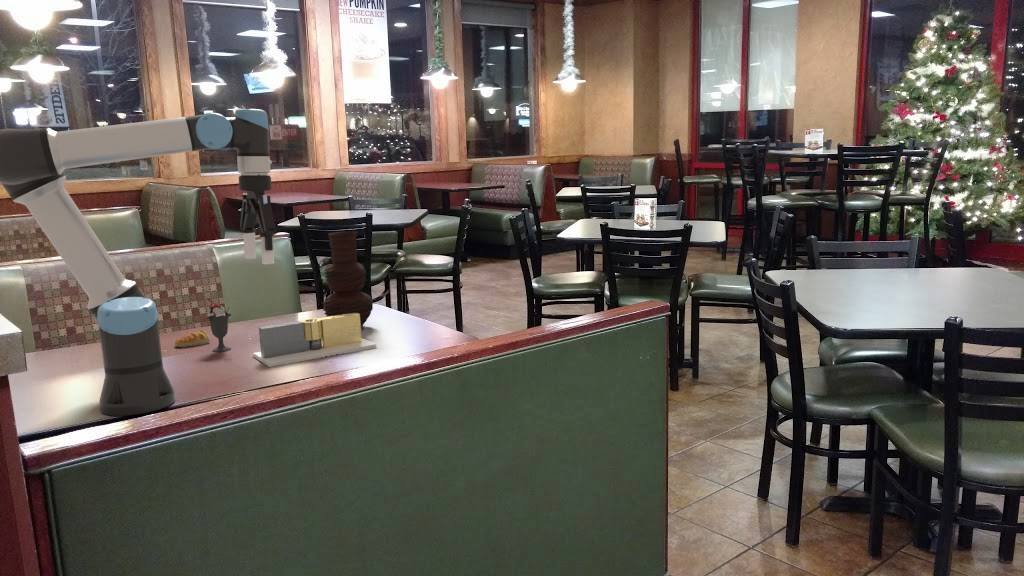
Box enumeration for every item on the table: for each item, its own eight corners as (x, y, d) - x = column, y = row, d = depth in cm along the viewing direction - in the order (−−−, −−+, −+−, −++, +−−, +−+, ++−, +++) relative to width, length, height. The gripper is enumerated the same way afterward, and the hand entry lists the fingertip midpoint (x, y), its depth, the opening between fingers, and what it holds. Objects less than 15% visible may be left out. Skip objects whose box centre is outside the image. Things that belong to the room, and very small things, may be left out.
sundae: (203, 351, 223) (198, 299, 220) (222, 346, 229) (217, 295, 226) (220, 353, 220) (215, 300, 217) (239, 348, 226) (233, 296, 223)
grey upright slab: (265, 358, 208) (262, 329, 207) (261, 356, 211) (258, 327, 210) (323, 348, 217) (321, 320, 216) (319, 346, 220) (317, 318, 219)
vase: (322, 326, 251) (315, 232, 246) (371, 321, 256) (364, 229, 251) (326, 336, 237) (318, 236, 232) (377, 331, 241) (371, 233, 236)
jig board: (269, 366, 204) (268, 363, 204) (253, 356, 215) (253, 352, 215) (376, 347, 220) (376, 344, 220) (356, 338, 232) (356, 335, 232)
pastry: (182, 350, 227) (180, 337, 226) (170, 347, 231) (169, 334, 231) (212, 343, 234) (211, 330, 233) (200, 340, 238) (199, 328, 238)
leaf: (307, 352, 214) (305, 323, 212) (301, 348, 218) (298, 320, 217) (363, 342, 223) (361, 314, 221) (356, 339, 227) (354, 312, 226)
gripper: (287, 174, 184) (292, 265, 187) (253, 173, 204) (258, 255, 207) (255, 175, 180) (260, 267, 183) (224, 174, 200) (229, 257, 203)
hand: (259, 261), depth 195 cm, fingers open, 13 cm apart
